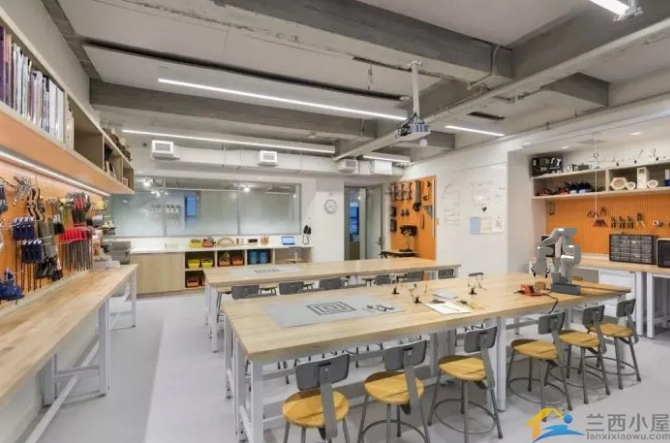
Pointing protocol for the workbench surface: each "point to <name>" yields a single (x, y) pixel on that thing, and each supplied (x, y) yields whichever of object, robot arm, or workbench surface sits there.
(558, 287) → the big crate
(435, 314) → the workbench surface
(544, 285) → the small crate
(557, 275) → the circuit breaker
